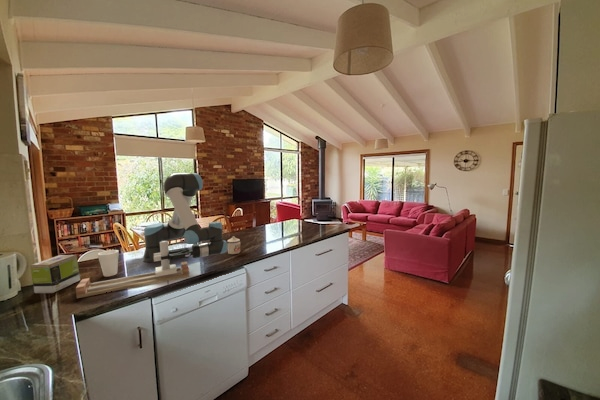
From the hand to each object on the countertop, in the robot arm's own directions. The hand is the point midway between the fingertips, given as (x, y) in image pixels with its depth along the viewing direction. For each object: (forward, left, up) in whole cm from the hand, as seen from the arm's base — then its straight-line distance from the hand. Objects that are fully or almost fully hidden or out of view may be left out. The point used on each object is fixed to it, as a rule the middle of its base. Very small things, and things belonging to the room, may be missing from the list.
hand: (153, 257), depth 137 cm
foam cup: (-22, -23, -12) cm, 34 cm away
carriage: (0, +5, -9) cm, 11 cm away
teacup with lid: (-25, +50, -12) cm, 57 cm away
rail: (0, -8, -12) cm, 14 cm away
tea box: (-16, -44, -12) cm, 48 cm away
